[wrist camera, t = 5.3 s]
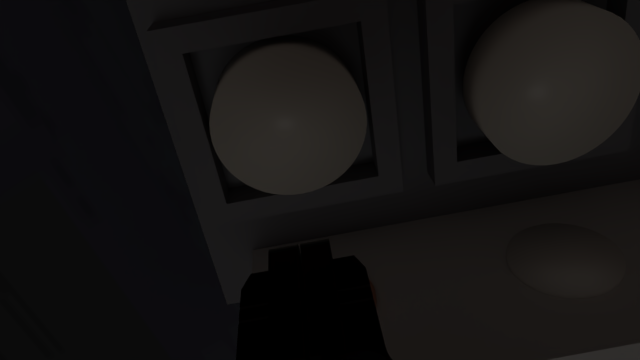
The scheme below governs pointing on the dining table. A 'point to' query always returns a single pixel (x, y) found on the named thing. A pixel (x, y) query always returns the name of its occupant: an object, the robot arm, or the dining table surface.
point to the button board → (417, 183)
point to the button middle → (552, 79)
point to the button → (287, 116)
